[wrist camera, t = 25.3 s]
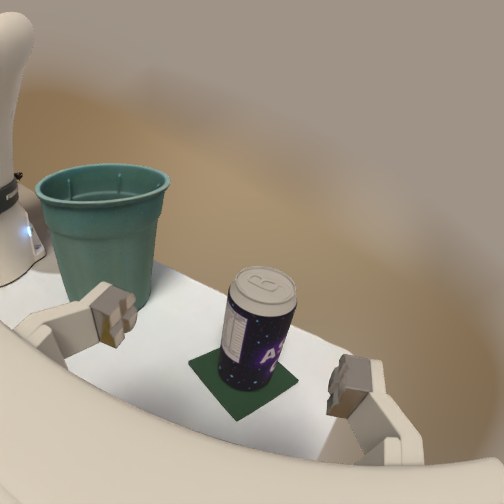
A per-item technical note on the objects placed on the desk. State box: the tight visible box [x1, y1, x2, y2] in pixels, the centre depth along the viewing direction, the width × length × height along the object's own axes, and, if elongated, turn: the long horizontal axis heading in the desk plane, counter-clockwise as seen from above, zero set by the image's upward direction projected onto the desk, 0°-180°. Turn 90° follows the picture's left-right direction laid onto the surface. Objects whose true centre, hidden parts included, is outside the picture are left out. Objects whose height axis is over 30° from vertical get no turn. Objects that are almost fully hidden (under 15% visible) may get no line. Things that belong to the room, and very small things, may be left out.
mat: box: [188, 348, 299, 421], centre depth 29 cm, size 8×8×1 cm
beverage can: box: [218, 266, 297, 391], centre depth 26 cm, size 6×6×12 cm
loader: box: [14, 173, 22, 180], centre depth 64 cm, size 12×5×5 cm, turn 165°
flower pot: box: [35, 164, 171, 310], centre depth 32 cm, size 16×16×16 cm
